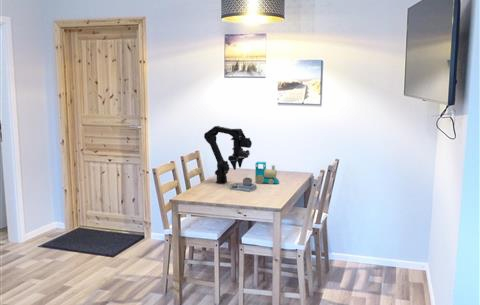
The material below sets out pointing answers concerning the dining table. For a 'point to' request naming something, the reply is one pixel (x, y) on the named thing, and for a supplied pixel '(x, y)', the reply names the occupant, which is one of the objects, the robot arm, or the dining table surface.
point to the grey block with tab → (247, 181)
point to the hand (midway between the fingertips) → (237, 168)
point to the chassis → (243, 187)
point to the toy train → (265, 174)
